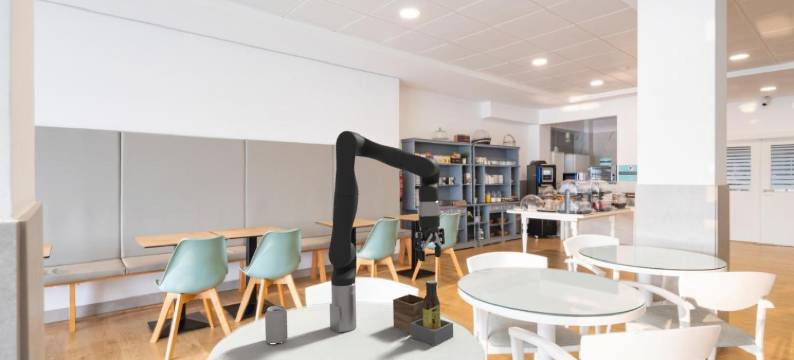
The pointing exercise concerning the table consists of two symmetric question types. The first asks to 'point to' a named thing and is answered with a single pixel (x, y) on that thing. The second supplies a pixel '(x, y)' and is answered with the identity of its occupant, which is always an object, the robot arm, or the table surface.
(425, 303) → the sauce bottle
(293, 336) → the table surface
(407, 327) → the box
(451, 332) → the low holder
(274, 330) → the can
